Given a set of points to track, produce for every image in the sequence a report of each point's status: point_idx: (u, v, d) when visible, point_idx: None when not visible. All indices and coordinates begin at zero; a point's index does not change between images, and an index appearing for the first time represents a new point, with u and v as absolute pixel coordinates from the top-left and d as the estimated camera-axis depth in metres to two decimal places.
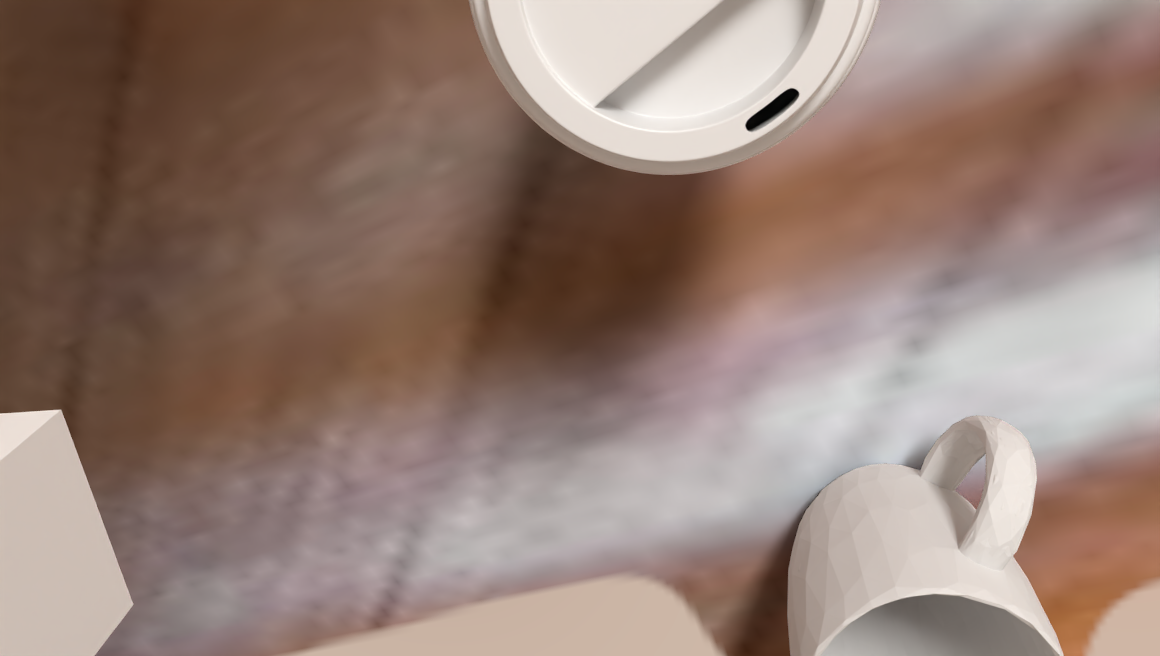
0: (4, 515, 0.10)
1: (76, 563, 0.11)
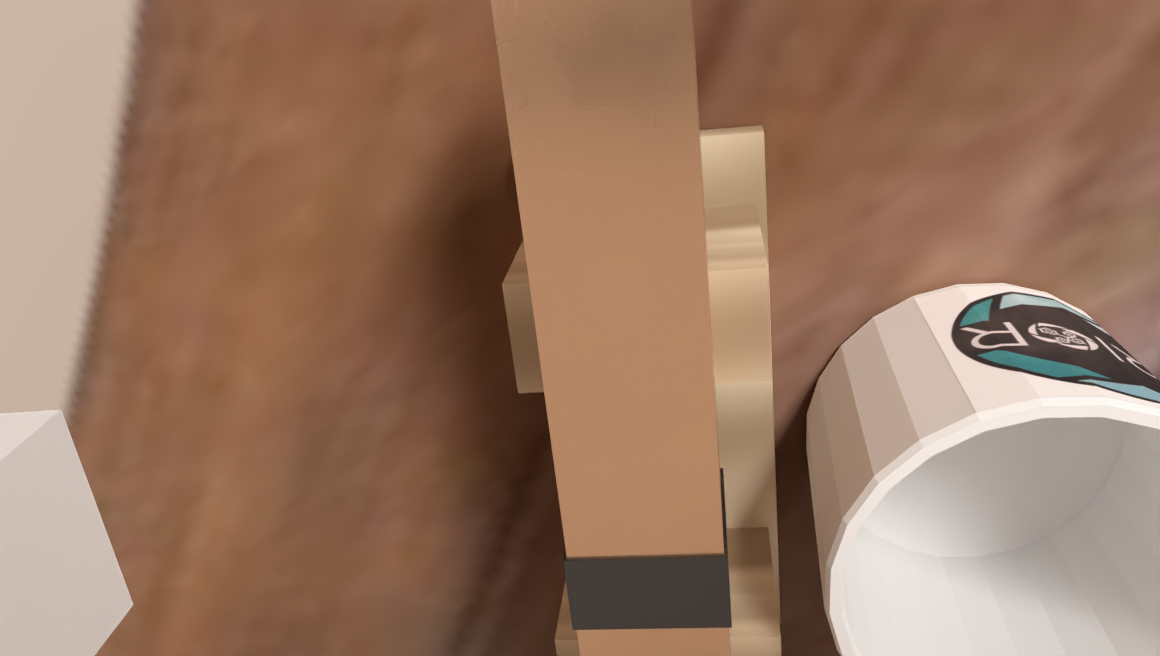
0: (4, 515, 0.10)
1: (76, 563, 0.11)
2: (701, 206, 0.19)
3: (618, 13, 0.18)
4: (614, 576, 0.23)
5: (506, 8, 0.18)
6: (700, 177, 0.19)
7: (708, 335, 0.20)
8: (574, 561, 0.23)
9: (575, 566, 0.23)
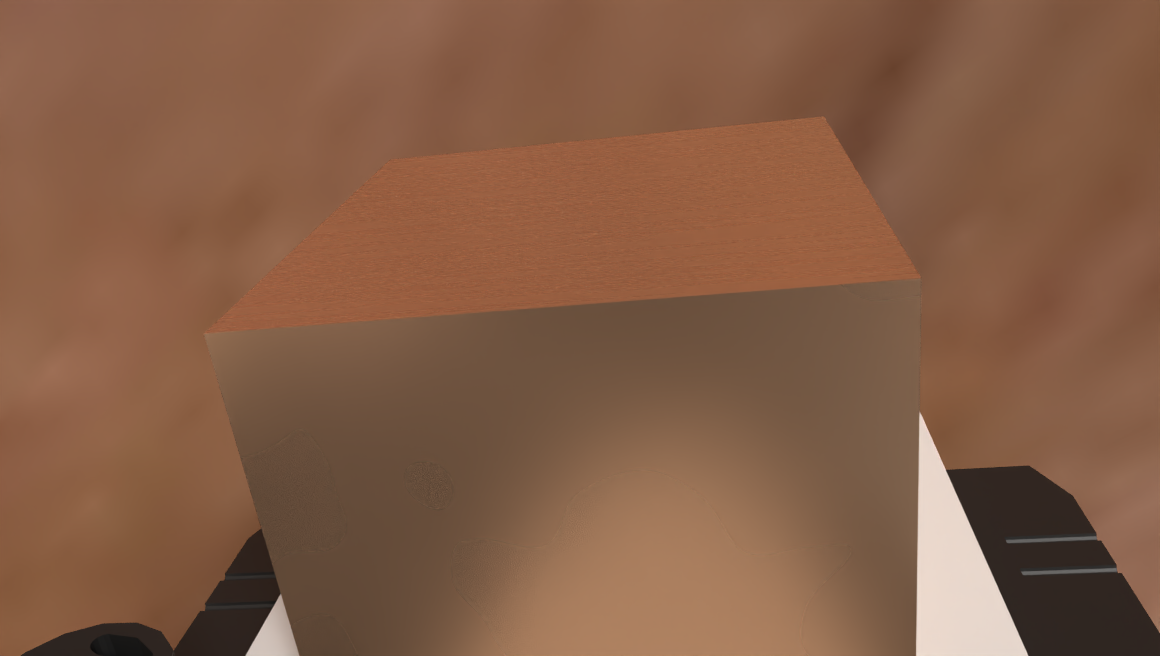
0: None
1: None
2: None
3: (664, 484, 0.05)
4: None
5: (288, 460, 0.05)
6: None
7: None
8: None
9: None
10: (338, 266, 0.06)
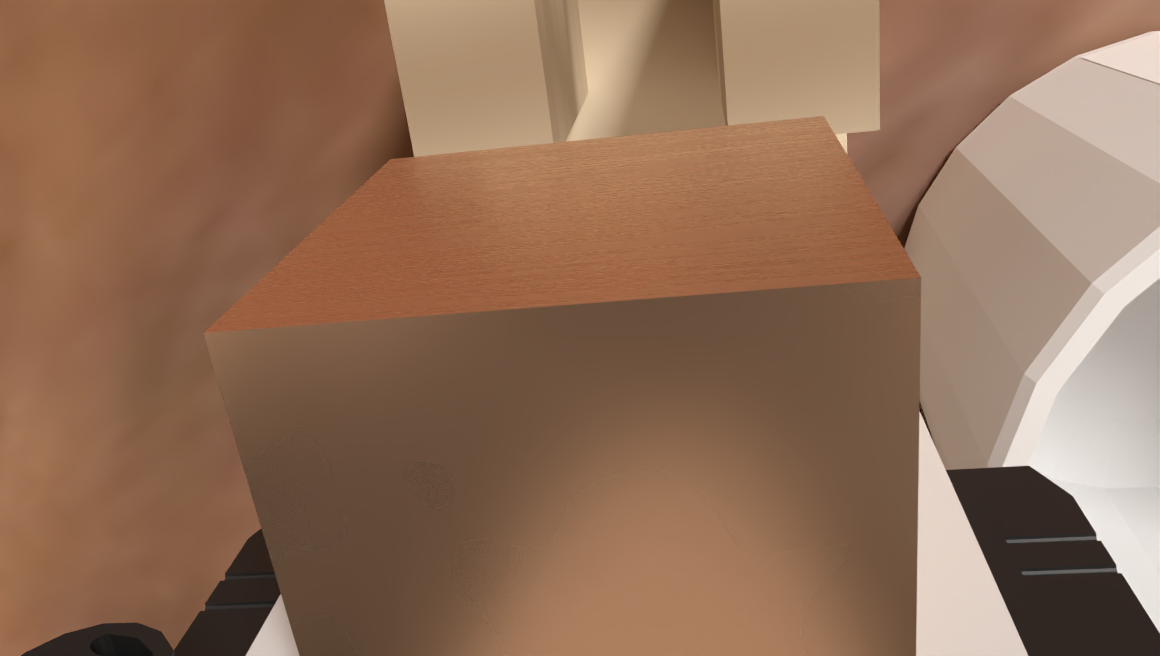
0: None
1: None
2: None
3: (663, 484, 0.05)
4: None
5: (288, 460, 0.05)
6: None
7: None
8: None
9: None
10: (338, 266, 0.06)
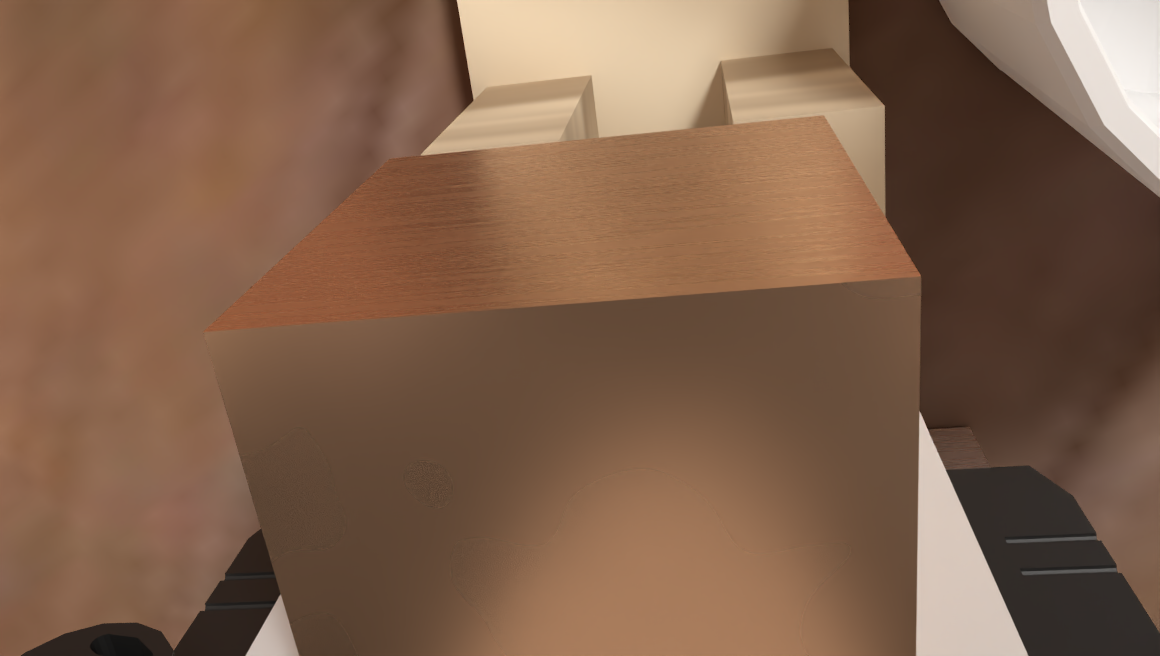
0: None
1: None
2: None
3: (663, 484, 0.05)
4: None
5: (288, 458, 0.05)
6: None
7: None
8: None
9: None
10: (338, 265, 0.06)
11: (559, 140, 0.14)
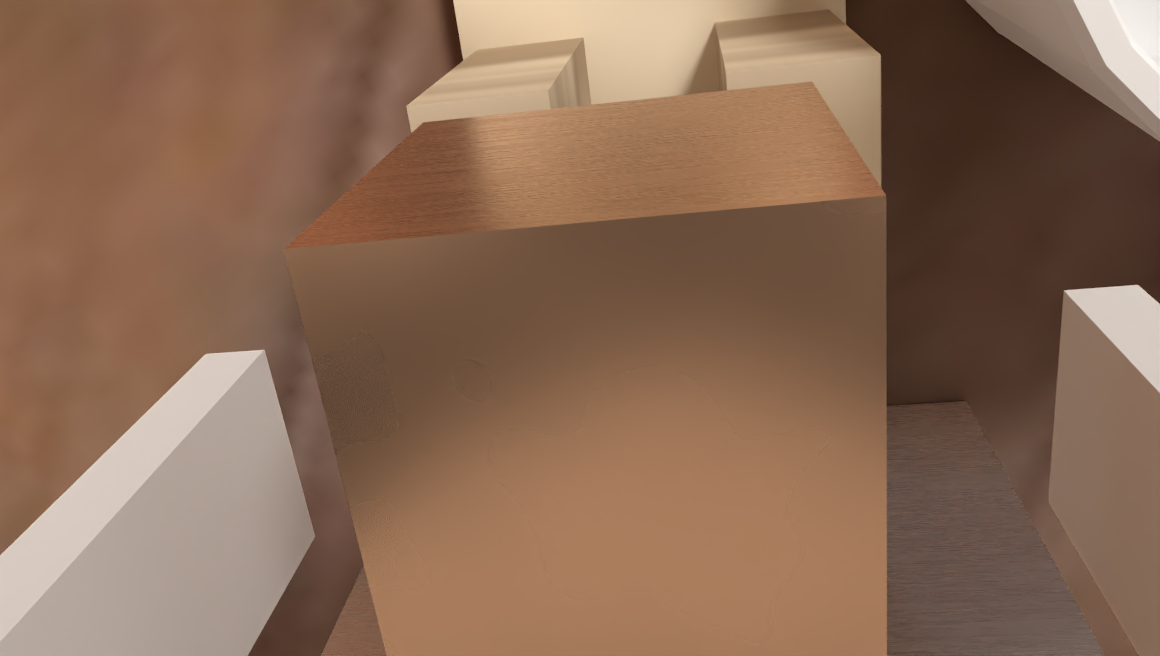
0: (230, 442, 0.11)
1: (277, 492, 0.12)
2: None
3: (672, 379, 0.06)
4: None
5: (352, 360, 0.06)
6: None
7: None
8: None
9: None
10: (390, 200, 0.07)
11: (548, 91, 0.14)
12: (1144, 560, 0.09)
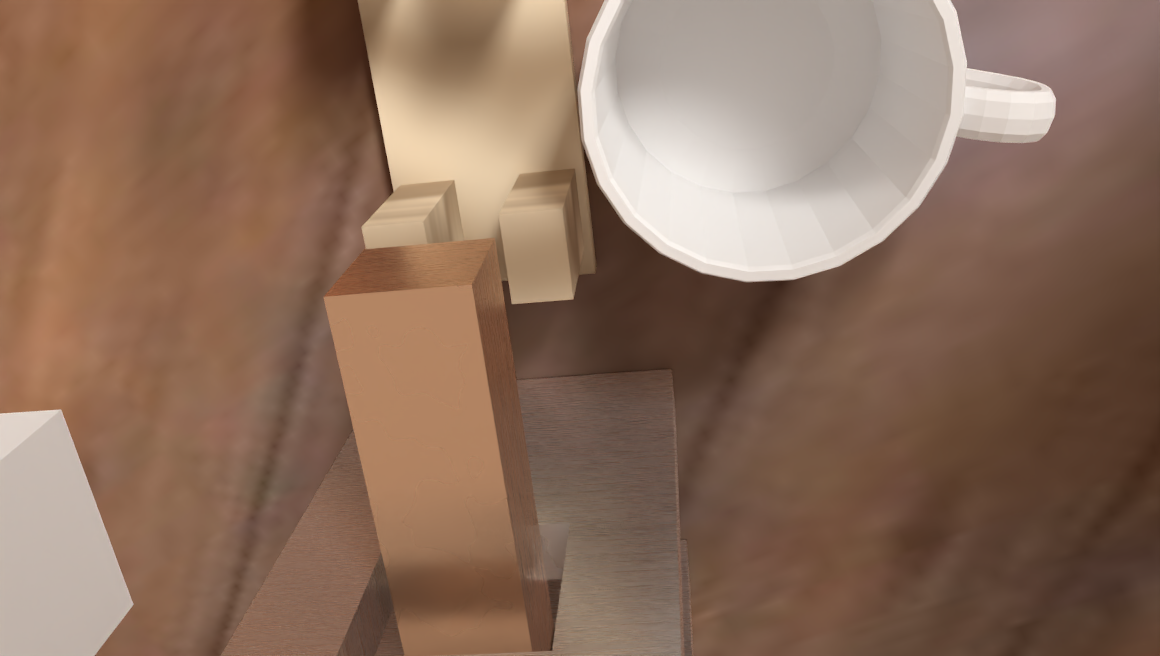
0: (4, 516, 0.10)
1: (76, 563, 0.11)
2: (499, 462, 0.25)
3: (425, 330, 0.24)
4: None
5: (341, 326, 0.24)
6: (497, 442, 0.25)
7: (514, 553, 0.26)
8: None
9: None
10: (351, 282, 0.24)
11: (423, 221, 0.31)
12: None
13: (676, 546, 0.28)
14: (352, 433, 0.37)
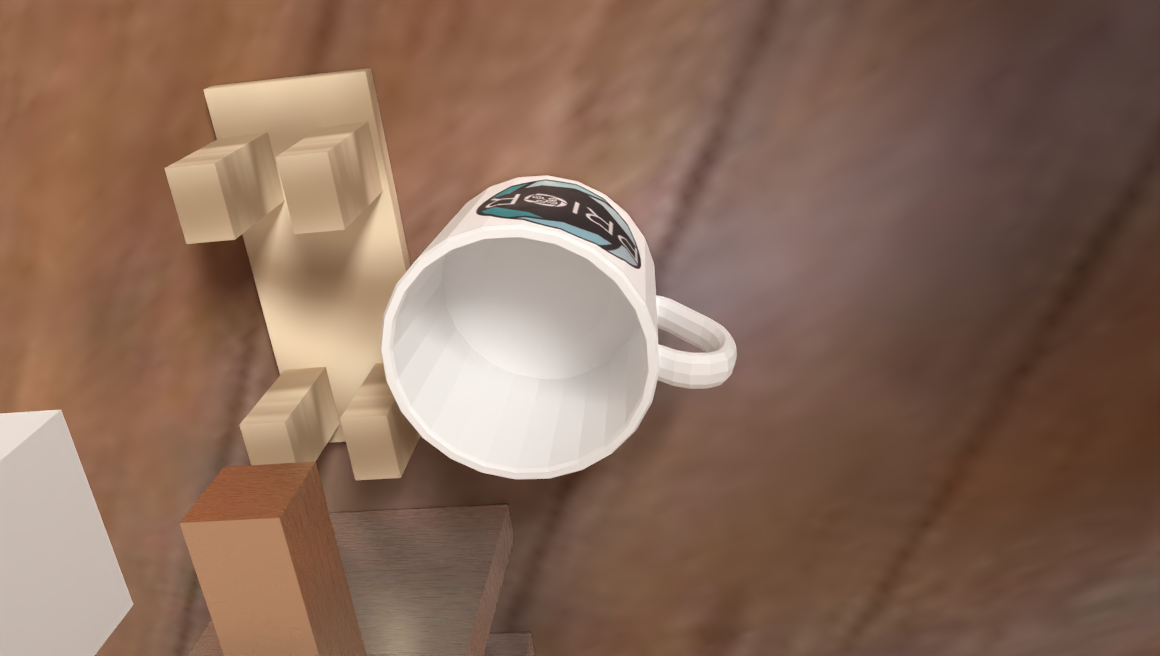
0: (5, 516, 0.10)
1: (76, 563, 0.11)
2: (311, 630, 0.35)
3: (250, 545, 0.34)
4: None
5: (193, 541, 0.34)
6: (307, 617, 0.35)
7: None
8: None
9: None
10: (203, 507, 0.35)
11: (285, 422, 0.41)
12: None
13: None
14: None
